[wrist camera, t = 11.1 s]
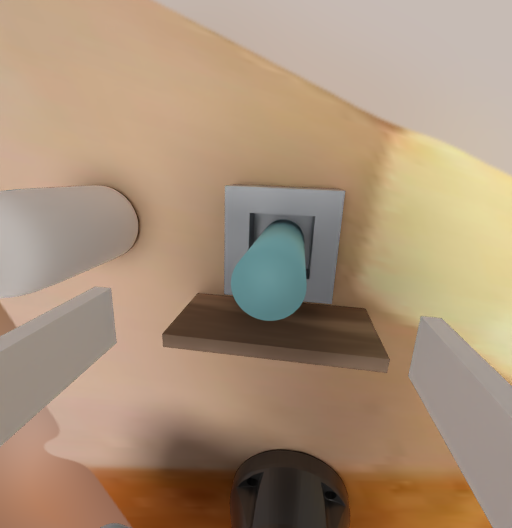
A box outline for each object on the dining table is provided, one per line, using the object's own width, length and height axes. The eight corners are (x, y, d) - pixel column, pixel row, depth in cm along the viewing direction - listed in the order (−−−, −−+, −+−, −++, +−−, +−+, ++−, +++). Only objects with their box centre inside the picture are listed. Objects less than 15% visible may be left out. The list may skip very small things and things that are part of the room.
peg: (302, 261, 29) (303, 324, 16) (262, 258, 30) (230, 317, 17) (305, 220, 28) (309, 251, 15) (263, 218, 29) (231, 246, 15)
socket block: (327, 288, 31) (331, 304, 27) (233, 280, 32) (224, 294, 28) (339, 188, 28) (345, 190, 24) (234, 184, 29) (225, 185, 26)
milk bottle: (127, 177, 31) (-153, 180, 12) (150, 249, 33) (-60, 352, 14) (64, 193, 32) (-275, 219, 13) (89, 261, 34) (-176, 369, 15)
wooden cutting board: (363, 319, 31) (387, 372, 23) (198, 303, 34) (163, 346, 25) (365, 308, 31) (389, 359, 23) (197, 293, 33) (162, 333, 25)
